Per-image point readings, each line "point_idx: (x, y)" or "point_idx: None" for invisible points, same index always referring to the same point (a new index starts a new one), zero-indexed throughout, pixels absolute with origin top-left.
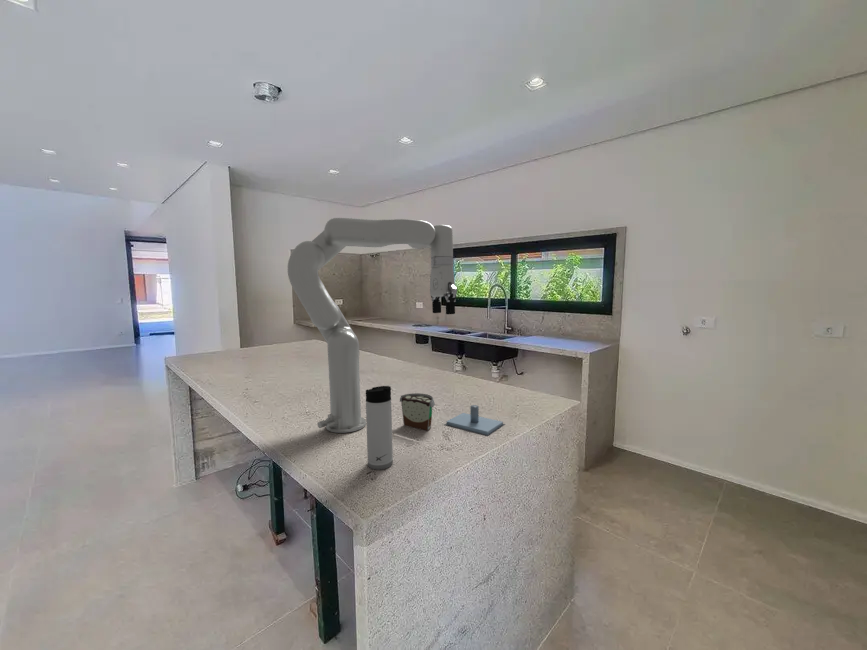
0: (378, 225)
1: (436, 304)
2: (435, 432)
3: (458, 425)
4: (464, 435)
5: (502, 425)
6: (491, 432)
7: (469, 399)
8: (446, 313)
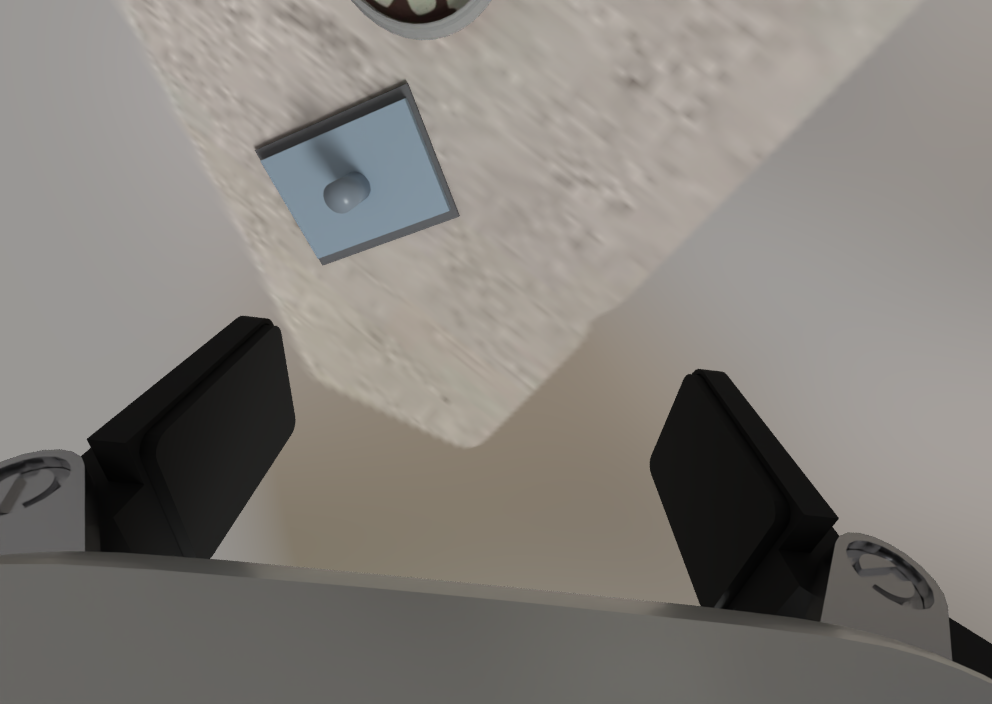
0: None
1: (725, 515)
2: None
3: (358, 118)
4: (301, 95)
5: None
6: None
7: (580, 335)
8: (243, 316)
